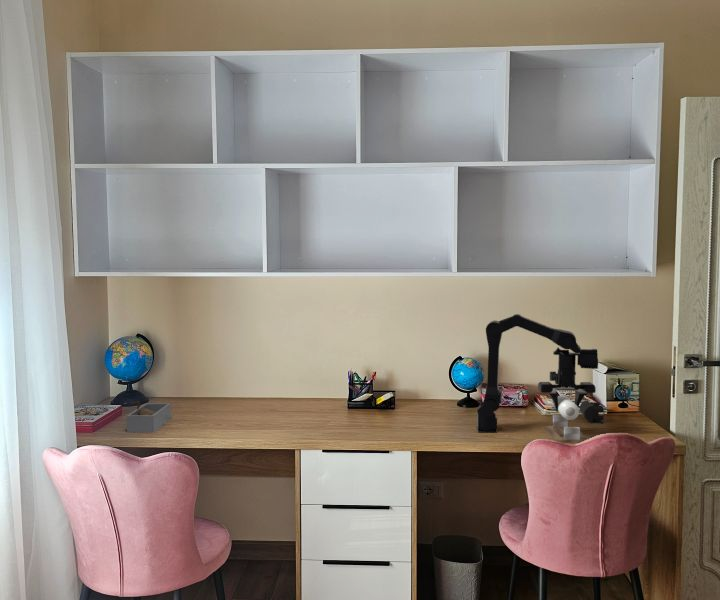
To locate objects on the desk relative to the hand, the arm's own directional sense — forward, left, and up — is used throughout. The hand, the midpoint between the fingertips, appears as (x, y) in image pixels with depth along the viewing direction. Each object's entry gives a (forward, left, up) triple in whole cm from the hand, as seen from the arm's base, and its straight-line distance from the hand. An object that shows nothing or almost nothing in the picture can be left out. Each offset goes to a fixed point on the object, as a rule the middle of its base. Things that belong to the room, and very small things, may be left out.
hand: (565, 411), depth 247 cm
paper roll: (0, 0, -2) cm, 2 cm away
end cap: (+15, +22, -9) cm, 28 cm away
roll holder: (0, 0, -8) cm, 9 cm away
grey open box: (-154, +10, -8) cm, 154 cm away
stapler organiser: (-152, +10, -8) cm, 152 cm away
